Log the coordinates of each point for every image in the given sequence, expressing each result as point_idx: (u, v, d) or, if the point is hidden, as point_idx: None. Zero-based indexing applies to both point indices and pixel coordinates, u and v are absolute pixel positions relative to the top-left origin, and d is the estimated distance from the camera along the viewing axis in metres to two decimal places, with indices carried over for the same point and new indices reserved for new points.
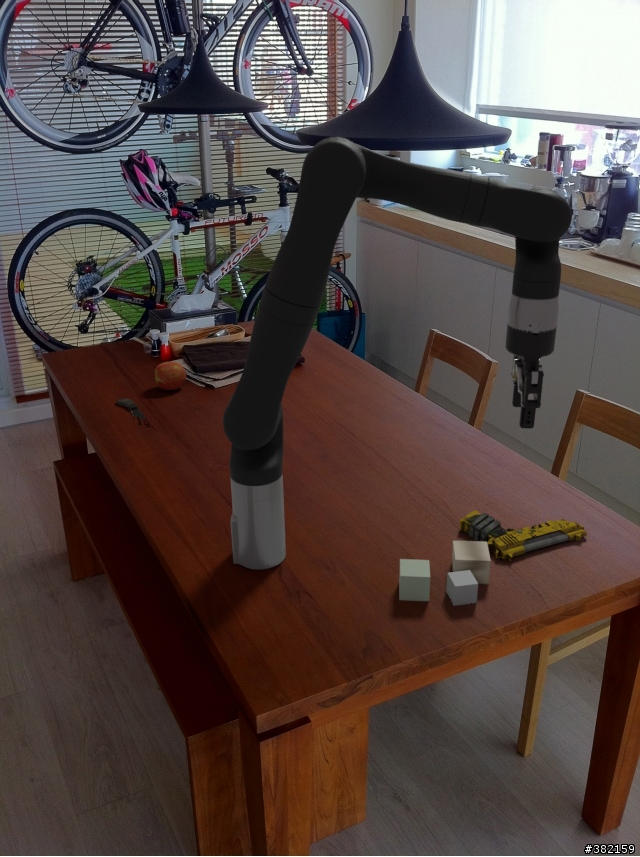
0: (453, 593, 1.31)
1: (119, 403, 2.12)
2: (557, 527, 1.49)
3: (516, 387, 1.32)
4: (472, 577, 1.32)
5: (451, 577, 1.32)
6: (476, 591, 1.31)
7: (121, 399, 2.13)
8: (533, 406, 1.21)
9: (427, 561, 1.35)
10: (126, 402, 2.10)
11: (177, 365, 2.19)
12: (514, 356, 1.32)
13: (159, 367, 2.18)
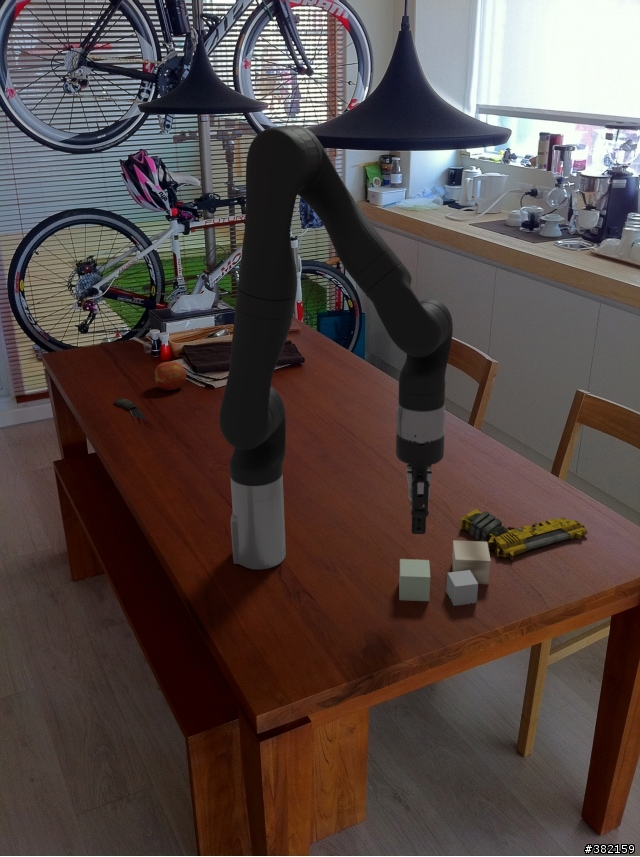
0: (453, 593, 1.31)
1: (117, 403, 2.11)
2: (558, 525, 1.49)
3: None
4: (472, 577, 1.32)
5: (451, 577, 1.32)
6: (476, 591, 1.31)
7: (119, 399, 2.13)
8: (421, 515, 1.21)
9: (427, 561, 1.35)
10: (125, 402, 2.10)
11: (177, 365, 2.19)
12: None
13: (159, 367, 2.18)
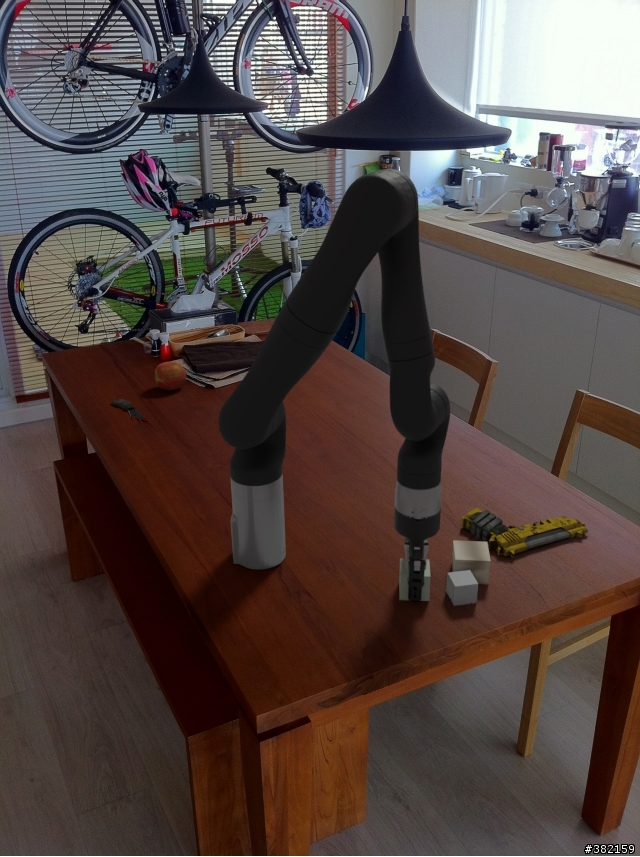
0: (453, 593, 1.31)
1: (115, 404, 2.11)
2: (558, 524, 1.50)
3: None
4: (472, 577, 1.32)
5: (451, 577, 1.32)
6: (476, 591, 1.31)
7: (116, 400, 2.12)
8: (417, 585, 1.28)
9: (427, 560, 1.35)
10: (122, 402, 2.10)
11: (177, 365, 2.19)
12: None
13: (159, 367, 2.18)
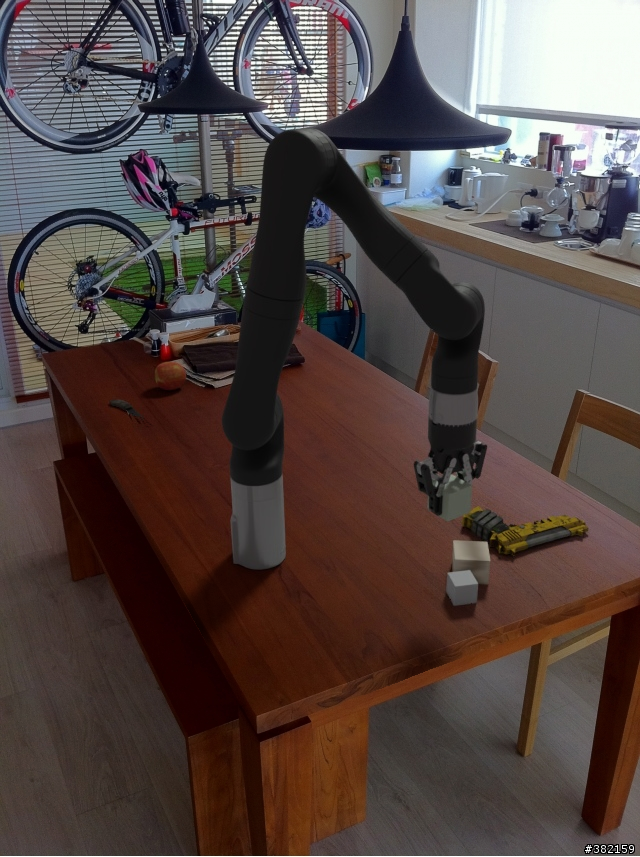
0: (453, 593, 1.31)
1: (113, 404, 2.11)
2: (559, 522, 1.50)
3: None
4: (472, 577, 1.32)
5: (451, 577, 1.32)
6: (476, 591, 1.31)
7: (114, 400, 2.12)
8: (424, 492, 1.25)
9: (468, 485, 1.27)
10: (120, 403, 2.10)
11: (177, 365, 2.19)
12: None
13: (159, 367, 2.18)
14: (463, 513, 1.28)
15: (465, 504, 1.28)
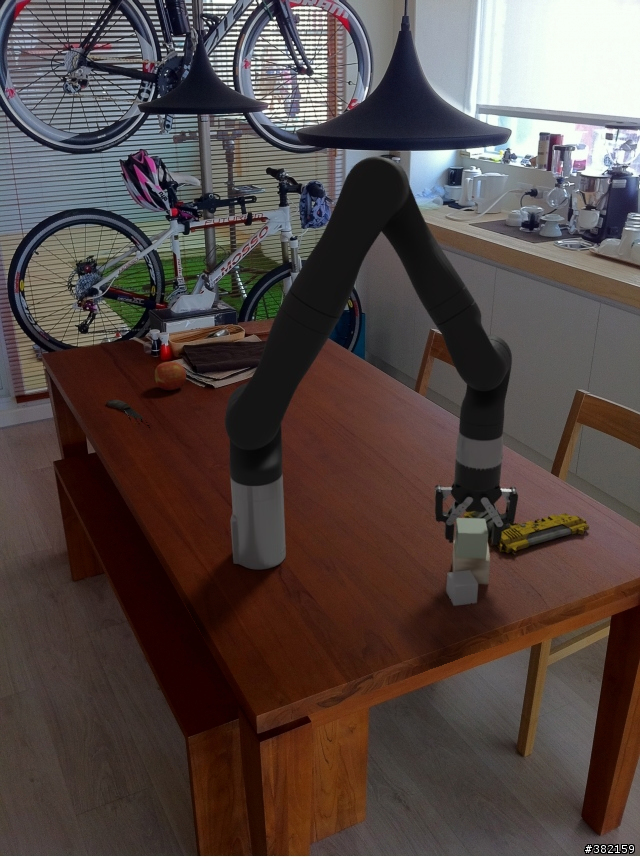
0: (453, 593, 1.31)
1: (110, 404, 2.11)
2: (560, 521, 1.51)
3: (493, 522, 1.36)
4: (472, 577, 1.32)
5: (451, 577, 1.32)
6: (476, 591, 1.31)
7: (111, 400, 2.12)
8: None
9: (485, 533, 1.34)
10: (118, 403, 2.10)
11: (177, 365, 2.19)
12: None
13: (159, 367, 2.18)
14: (476, 557, 1.35)
15: (479, 549, 1.35)
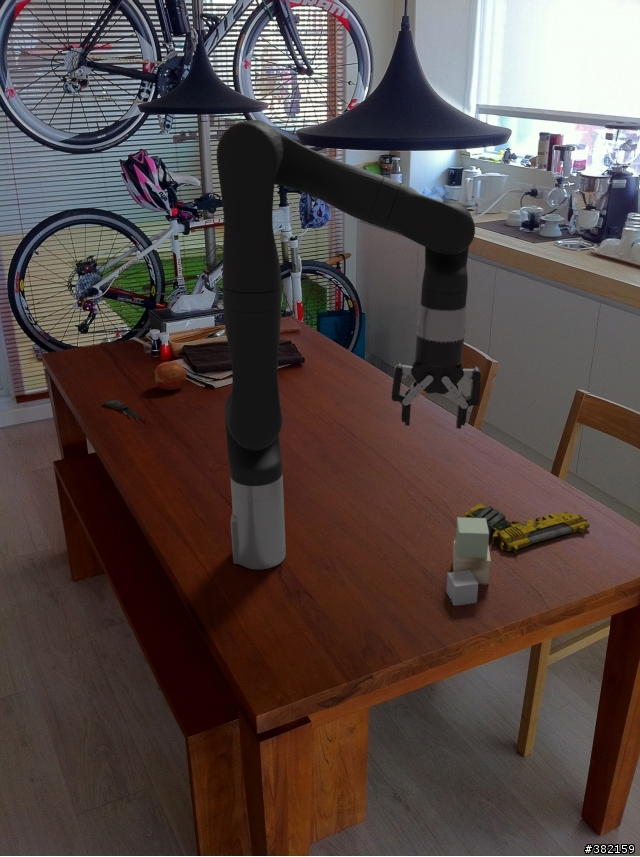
0: (453, 593, 1.31)
1: (107, 405, 2.10)
2: (560, 519, 1.51)
3: (458, 405, 1.30)
4: (472, 577, 1.32)
5: (451, 577, 1.32)
6: (476, 591, 1.31)
7: (108, 401, 2.12)
8: None
9: (486, 532, 1.34)
10: (115, 403, 2.10)
11: (177, 365, 2.19)
12: None
13: (159, 367, 2.18)
14: (477, 556, 1.36)
15: (480, 548, 1.35)
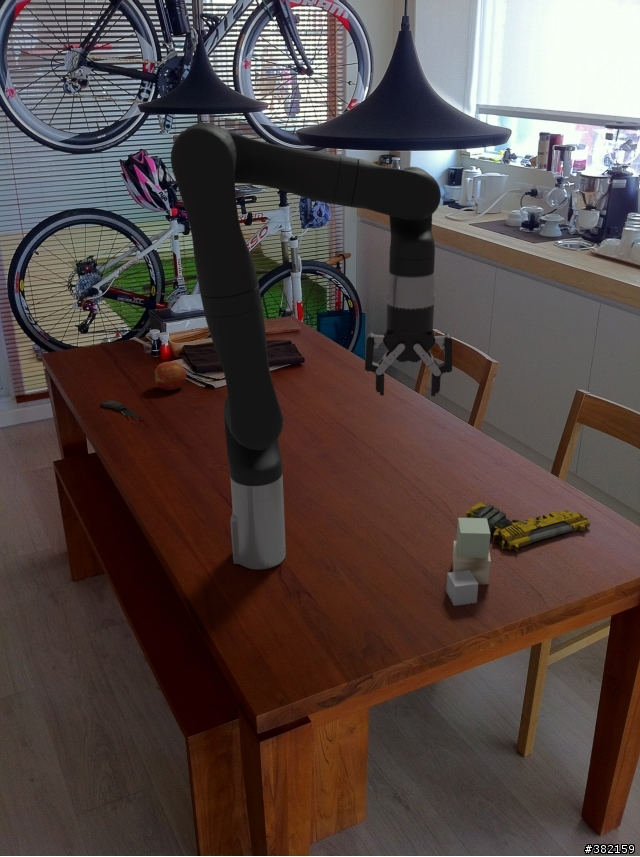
0: (453, 593, 1.31)
1: (105, 405, 2.10)
2: (561, 518, 1.52)
3: None
4: (472, 577, 1.32)
5: (451, 577, 1.32)
6: (476, 591, 1.31)
7: (106, 401, 2.11)
8: None
9: (487, 532, 1.34)
10: (113, 404, 2.10)
11: (177, 365, 2.19)
12: None
13: (159, 367, 2.18)
14: (478, 556, 1.36)
15: (481, 549, 1.35)
